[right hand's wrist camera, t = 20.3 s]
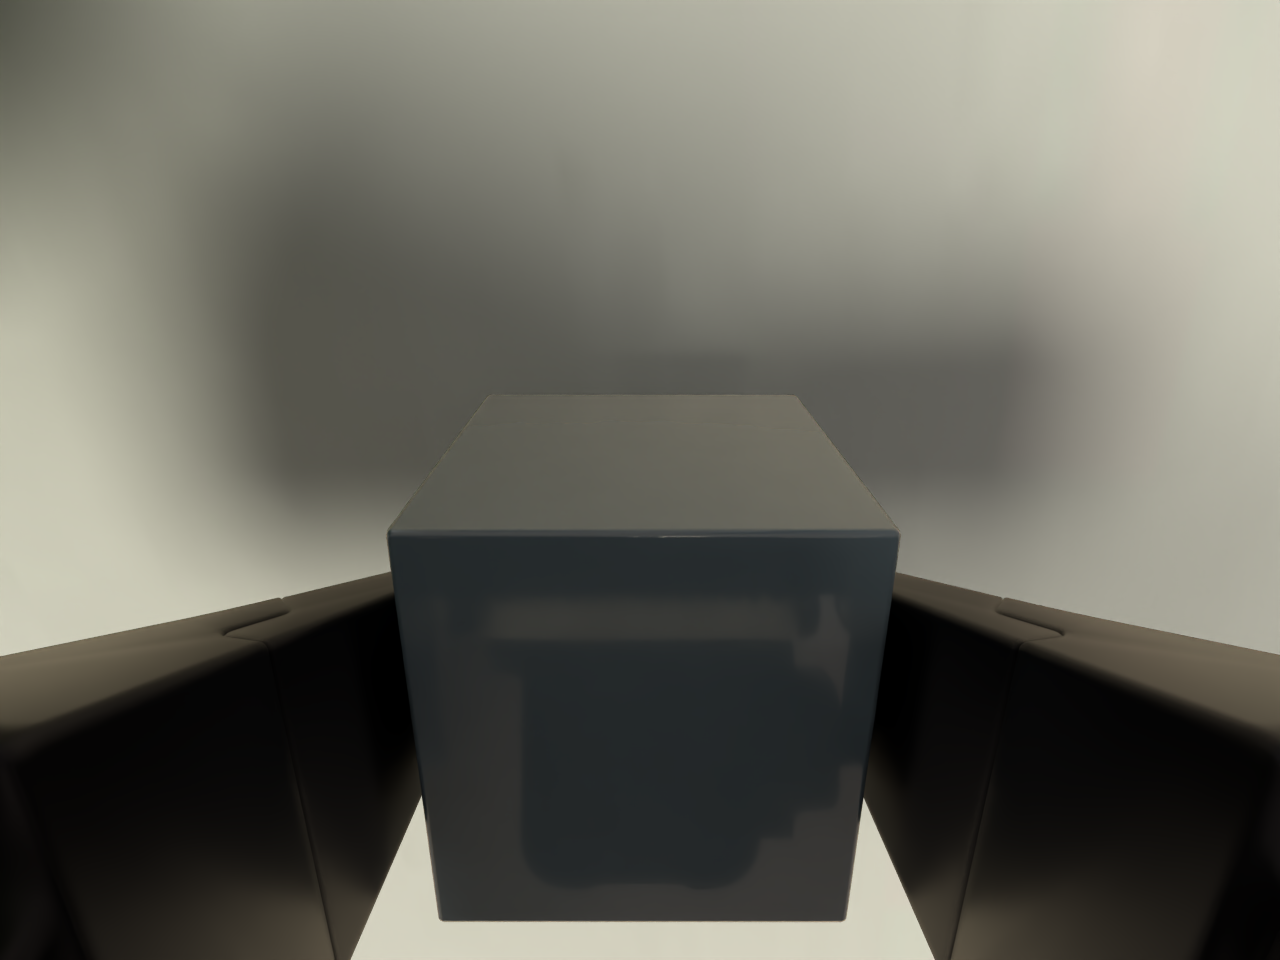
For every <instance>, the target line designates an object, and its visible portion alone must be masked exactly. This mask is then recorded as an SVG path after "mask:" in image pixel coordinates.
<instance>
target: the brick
mask: <svg viewBox="0 0 1280 960" xmlns="http://www.w3.org/2000/svg"><path fill="white" fill-rule="evenodd" d="M900 537H901V535H900V531H899V529H898V528H897V527H896V525H895V524H894V523H893V521H892V520H891V519H890V517H889V516H888V515H887V514H886V512H885V511H884V510H883V508H882V507H881V506H880V504H879V503H878V502H877V500H876V499H875V498H874V497H873V495H872V494H871V493H870V491H869V490H868V489H867V487H866V486H865V485H864V483H863V482H862V481H861V480H860V478H859V477H858V476H857V474H856V473H855V472H854V470H853V469H852V468H851V466H850V465H849V464H848V463H847V461H846V460H845V459H844V457H843V456H842V455H841V453H840V452H839V451H838V449H837V448H836V447H835V446H834V444H833V443H832V442H831V440H830V439H829V438H828V436H827V435H826V434H825V432H824V431H823V430H822V429H821V427H820V426H819V425H818V423H817V422H816V421H815V419H814V418H813V417H812V415H811V414H810V413H809V412H808V410H807V409H806V408H805V406H804V405H803V404H802V402H801V401H800V400H799V399H798V397H797V396H795V395H489V396H487V397H486V399H485V400H484V401H483V403H482V404H481V405H480V407H479V408H478V409H477V411H476V412H475V413H474V415H473V416H472V417H471V419H470V420H469V421H468V423H467V424H466V425H465V427H464V428H463V429H462V431H461V432H460V434H459V435H458V436H457V438H456V439H455V440H454V442H453V443H452V444H451V446H450V447H449V448H448V450H447V451H446V452H445V454H444V455H443V456H442V458H441V459H440V460H439V462H438V463H437V464H436V466H435V467H434V468H433V470H432V471H431V472H430V474H429V475H428V476H427V478H426V479H425V480H424V482H423V483H422V484H421V486H420V487H419V488H418V490H417V491H416V492H415V494H414V495H413V496H412V498H411V499H410V501H409V502H408V503H407V505H406V506H405V507H404V509H403V510H402V511H401V513H400V514H399V515H398V517H397V518H396V519H395V521H394V522H393V523H392V525H391V526H390V527H389V529H388V530H387V534H386V539H387V546H388V553H389V560H390V568H391V575H392V582H393V589H394V597H395V604H396V611H397V619H398V626H399V633H400V640H401V648H402V655H403V662H404V670H405V677H406V684H407V691H408V699H409V706H410V713H411V720H412V728H413V735H414V742H415V750H416V757H417V764H418V771H419V779H420V786H421V793H422V800H423V808H424V815H425V822H426V830H427V837H428V844H429V851H430V859H431V866H432V873H433V880H434V888H435V895H436V902H437V910H438V916H439V919H440V921H443V922H843V921H845V920H846V916H847V910H848V903H849V896H850V889H851V882H852V874H853V867H854V860H855V853H856V846H857V839H858V832H859V825H860V818H861V811H862V804H863V797H864V790H865V783H866V776H867V769H868V762H869V755H870V748H871V741H872V734H873V727H874V720H875V713H876V706H877V699H878V692H879V685H880V678H881V671H882V664H883V657H884V650H885V643H886V635H887V628H888V621H889V614H890V607H891V600H892V593H893V586H894V579H895V572H896V565H897V558H898V551H899V544H900Z"/></svg>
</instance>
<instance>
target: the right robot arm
mask: <svg viewBox="0 0 1280 960" xmlns="http://www.w3.org/2000/svg"><path fill="white" fill-rule="evenodd" d="M421 796H422V793H421V786H420V779H419V771H418V764H417V757H416V750H415V742H414V735H413V728H412V720H411V713H410V706H409V699H408V691H407V684H406V677H405V670H404V662H403V655H402V648H401V640H400V633H399V626H398V619H397V611H396V604H395V597H394V589H393V582H392V575H391V572H387V573H383V574H379V575H375V576H371V577H367V578H362V579H358V580H354V581H350V582H346V583H342V584H337V585H333V586H329V587H325V588H321V589H317V590H312V591H308V592H304V593H300V594H296V595H292V596H287V597H284V598H283V599H281V598H275V599H271V600H266V601H262V602H258V603H254V604H249V605H245V606H240V607H236V608H232V609H227V610H223V611H218V612H214V613H209V614H205V615H200V616H195V617H191V618H186V619H181V620H176V621H172V622H167V623H162V624H157V625H152V626H147V627H142V628H137V629H132V630H127V631H123V632H118V633H113V634H108V635H103V636H98V637H93V638H88V639H83V640H79V641H74V642H69V643H64V644H59V645H54V646H49V647H44V648H39V649H34V650H30V651H25V652H20V653H15V654H10V655H5V656H0V960H350V959H351V957H352V955H353V952H354V950H355V948H356V946H357V943H358V941H359V939H360V936H361V934H362V932H363V929H364V927H365V925H366V922H367V920H368V918H369V916H370V913H371V911H372V909H373V906H374V904H375V902H376V899H377V897H378V895H379V892H380V890H381V888H382V886H383V883H384V881H385V879H386V876H387V874H388V872H389V869H390V867H391V865H392V863H393V860H394V858H395V856H396V853H397V851H398V849H399V846H400V844H401V842H402V839H403V837H404V835H405V833H406V830H407V828H408V826H409V823H410V821H411V819H412V816H413V814H414V812H415V810H416V807H417V805H418V803H419V800H420V798H421ZM864 799H865V802H866V804H867V806H868V808H869V811H870V813H871V815H872V818H873V820H874V822H875V824H876V827H877V829H878V831H879V834H880V836H881V838H882V840H883V843H884V845H885V847H886V849H887V852H888V854H889V856H890V859H891V861H892V863H893V865H894V868H895V870H896V872H897V874H898V877H899V879H900V881H901V884H902V886H903V888H904V890H905V893H906V895H907V897H908V899H909V902H910V904H911V906H912V909H913V911H914V913H915V915H916V918H917V920H918V922H919V924H920V927H921V929H922V931H923V934H924V936H925V938H926V940H927V943H928V945H929V947H930V950H931V952H932V954H933V956H934V959H935V960H1280V655H1277V654H1272V653H1267V652H1262V651H1258V650H1253V649H1248V648H1243V647H1238V646H1233V645H1228V644H1223V643H1218V642H1213V641H1208V640H1203V639H1198V638H1193V637H1188V636H1184V635H1179V634H1174V633H1169V632H1164V631H1159V630H1154V629H1149V628H1144V627H1139V626H1134V625H1129V624H1124V623H1119V622H1114V621H1110V620H1105V619H1100V618H1095V617H1090V616H1086V615H1081V614H1076V613H1072V612H1067V611H1063V610H1058V609H1054V608H1049V607H1045V606H1041V605H1036V604H1032V603H1027V602H1023V601H1019V600H1015V599H1010V598H1004V599H1002V598H1001V597H998V596H994V595H989V594H985V593H981V592H977V591H973V590H968V589H964V588H960V587H956V586H951V585H947V584H943V583H939V582H935V581H930V580H926V579H922V578H918V577H914V576H909V575H905V574H901V573H897V572H895V579H894V586H893V593H892V600H891V607H890V614H889V621H888V628H887V635H886V643H885V650H884V657H883V664H882V671H881V678H880V685H879V692H878V699H877V706H876V713H875V720H874V727H873V734H872V741H871V748H870V755H869V762H868V769H867V776H866V783H865V790H864Z"/></svg>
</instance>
